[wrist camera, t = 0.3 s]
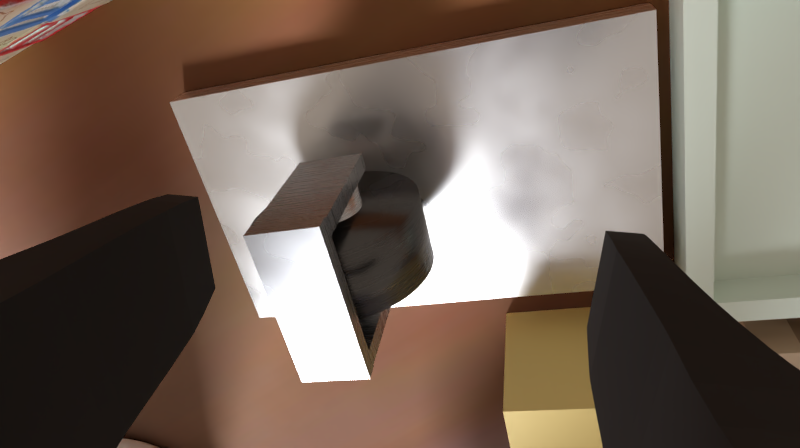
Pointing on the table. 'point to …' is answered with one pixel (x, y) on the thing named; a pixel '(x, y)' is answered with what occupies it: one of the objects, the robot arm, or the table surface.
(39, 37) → the stack of blocks
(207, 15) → the table surface
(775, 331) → the socket
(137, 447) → the vodka
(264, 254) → the trolley wheel
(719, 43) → the tray
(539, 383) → the pale yellow cube
